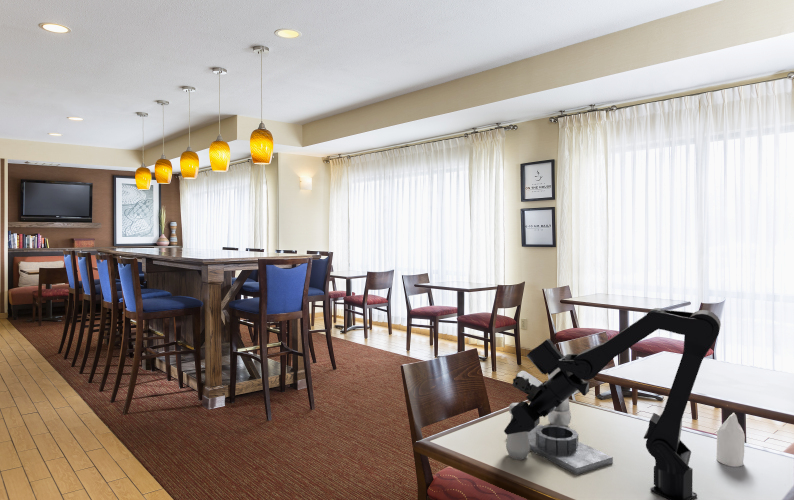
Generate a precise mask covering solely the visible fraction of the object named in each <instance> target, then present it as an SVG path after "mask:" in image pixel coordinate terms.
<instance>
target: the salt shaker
mask: <svg viewBox="0 0 794 500" xmlns="http://www.w3.org/2000/svg"><path fill="white" fill-rule="evenodd" d="M518 403H519V402H511V403H510V404H509V407H508V412H509V414H510V415H511V416H510V421H511V420H512V418H513V415H512V413H511V409H512V408H513V407H514V406H516V405H517V404H518ZM506 438H507V437H506ZM505 447H506V451H507V453H508V456H509V457H510V458H512V459H513V460H520V461H521V460H522V461H523V460H525V459H527V458H528V455H529V453H530V445H529V439H528V434H527V431H526V432H519V433H513V434H508V438H507V439H506V443H505Z"/></svg>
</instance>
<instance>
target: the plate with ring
mask: <svg viewBox="0 0 794 500" xmlns="http://www.w3.org/2000/svg"><path fill="white" fill-rule="evenodd" d="M527 434H528V439H529V445H530V451H531V452H532V453H533V454H536V455H538V456H541V457H542V458H544V459H545V460H548V461H550V462H551V463H553V464H556V465H557V466H559V467H561V468H563V469H565V470H567V471H568V472H571V474H572V473H573V474H575V475H580V474H583V473H586V472H589V471H593V470H595V469H596V470H597V469H600V468H602V467H605V466H609V465H612V464H614V457H613V456H612V455H609V454H607V453H604V452H602V451H600V450H599V449H597V448H594V447H591V446H589V445H587V444H585V443H582V442H580V441H579V433H578V432H577V431H576V429H573V428H570V427H568V426H566V427H564V426H559V425H557V426H556V425H551V424H546V425H543V424H538V425H537V426H536V427H535V428H534V429H533V430H531V431H530V432H527ZM506 435H507V434H506ZM506 438H508V435H507V437H506ZM530 451H529V452H530Z"/></svg>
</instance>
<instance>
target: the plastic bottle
mask: <svg viewBox="0 0 794 500" xmlns="http://www.w3.org/2000/svg"><path fill="white" fill-rule="evenodd" d="M562 355H563V356H565V355H564V354H562ZM559 371H560V369H559V368H557V369H556V370H555V371H554V372H553V373H551V374H550V375H548V374H547V381H548V380H549V379H550V378H551V377H553V376H554V375H555V374H556V373H557V372H559ZM546 417H547V420H548V422H549V425H556V426H557V425H559V426H564V427H568V426H569V425H570V424H571V420H572V415H571V410H570V397H568V398H567V399H566V400H565V401H563V402H562V403H561V404H560V405H559V406H558V407H556V408H555V409H554V410H553V411H552V412H550V413H549V414H548V415H547V416H546Z"/></svg>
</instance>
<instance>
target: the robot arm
mask: <svg viewBox="0 0 794 500" xmlns="http://www.w3.org/2000/svg"><path fill="white" fill-rule="evenodd" d="M721 326H722V324H721V320H720V318H719V317H718V316H717V315H716V314H715V312H713V311H711V310H708V309H707V310H706V309H701V310H700V309H699V310H697V311H695V312H690V311H681V310H673V309H672V310H669V309H663V308H659V307H657V308H656V307H655V308H652V309H651V310H650V311H648V312H647V313H646V314H645V315H644V316H642V317H641V318H639V319H638V320H636V321H635V322H633V323H632V324H631V325H629V326H627V327H626V328H625V329H623V330H621V331H620V332H619V333H617V334H616V335H614V336H613V337H611V338H610V339H608V340H607V341H604V342H603V343H599V344H597V345H595V346H592V347H590V348H587V349H585V350H583V351H581V352H580V353H570V354H569V353H567V354H565V355H564V354H563V353H562V352H561V351H560V350H559V349H558V348H557V346H555V345H554V343H553V341H552V340H551V339H550V338H547V339H545V340H544V341H543V342H542V343H540V344H539V345H538V346H536V347H535V348H533V349H532V350H531V351H529V353H527V355H526V357H527V359H529V360H530V362H531V363H532V364H533V365H534V366H535V367H536V368H537V370H538V372H540V373H541V374H542V375H545V376H546V375H547V376H548V375H550V374H551V373H553V372H554V371H555V370H556V369H557V368H559V369H560V371H559V372H557V373H556V374H555V375H554V376H553V377H551V378H550V379H549V380H548V379H547V380H545V381H544V382H542V381H540V380H539V378H537V377H535V376H534V375H532V374H530V372H529V373H528V372H527V371H526V370H521V371H519V372H518V373H517V374H516V375H515V377H514V378H513V379H512V384H511V386H512V387H514V388H515V389H518V390H519V391H520V392H522V393H525V394H526V397H525V398H526V400H528V402H529V403H528V402H527V401H522V400H521V401H519V402H517V403H518V404H517V405H516V406H514V407H513V408H512V409H511V413H512V414H511V415H513V418H512V420H511V419H510V421H509V423H508V424H507V425H506V427H505V428H504V430H503V432H504V433H505V435H508V434H513V433H519V432H526V431H527V432H530V431H531V430H533V429H534V428H535V427H536V426H537V425H540V422H541V421H540V420H541V419H540V418H541V417H543V418H546V417H548V416H547V415H548V414H549V413H550V412H552V411H553V410H554V409H555V408H556V407H558V406H559V405H560V404H561V403H562V402H563V401H565V400H566V399H567V398H568V397H569V398H571V396H572V395H573V394H575V393H576V392H577V391H579V392H580V393H581V395H582V396H586V395H587V394H588V393H589V392H590V380H593V378H595V377H596V376H598V374H599V373H600V372H601V371H602V370H603V369H604V368H605V367H606V366H607V365H608V364H610V362H611V361H612V360H613V359H615V358H616V357H617V356H619V355H621V354H622V353H623V352H625V351H626V350H629V349H630V348H631V347H633V346H634V345H636V344H637V343H639V342H641V341H642V340H644V339H645V338H647V337H648V336H651V334H652V333H654V332H655V331H657V330H662V331H666V332H670V333H674V334H677V335H683V336H684V339H683V340H684V341H683V350H682V352H683V353H682V355H681V358H680V361H679V365H678V367H677V371H676V373H675V376H674V379H673V381H672V384H671V388H670V391H669V394H668V396H667V399H666V401H665V402H666V403H665V405H664V408H663V410H662V412H661V413H660V415H658V414H657V413H655V412H653V413H652V415H651V417H650V420H649V422H648V428H647V430H646V431H645V433H644V435H643V439H644V440H646V441H645V448H646V450H647V452H648V453H649V454H650V455H651V457H653V458H654V460H655V465H654V466H653V485H654V486H652V487H650V491H651V492H653V493H654V494H657V495H659V496H660V497H663V498H665V499H667V500H692V499H694V498H696V497H698V494H697V492H695V491H693V473H694V472H693V468H692V467H690V466H689V464H690V463H689V462H690V459H691V456H692V451H691V449H689V448H688V446H687V445H686V444H685V443H684V442H683V441H682V440H681V436H682V425H683V416H684V413H685V411H686V407H687V405H688V402H689V400H690V396H691V393H692V391H693V387H694V386H695V382H696V379H697V377H698V374H699V370H700V367H701V365H702V363H703V361H704V358H705V357H706V355H707V354H708V353H709V351H710V349H711V348H712V346H713V345H714V343H715V341H716V340H717V338H718V336H719V334H720V331H721ZM563 355H564V356H563Z"/></svg>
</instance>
